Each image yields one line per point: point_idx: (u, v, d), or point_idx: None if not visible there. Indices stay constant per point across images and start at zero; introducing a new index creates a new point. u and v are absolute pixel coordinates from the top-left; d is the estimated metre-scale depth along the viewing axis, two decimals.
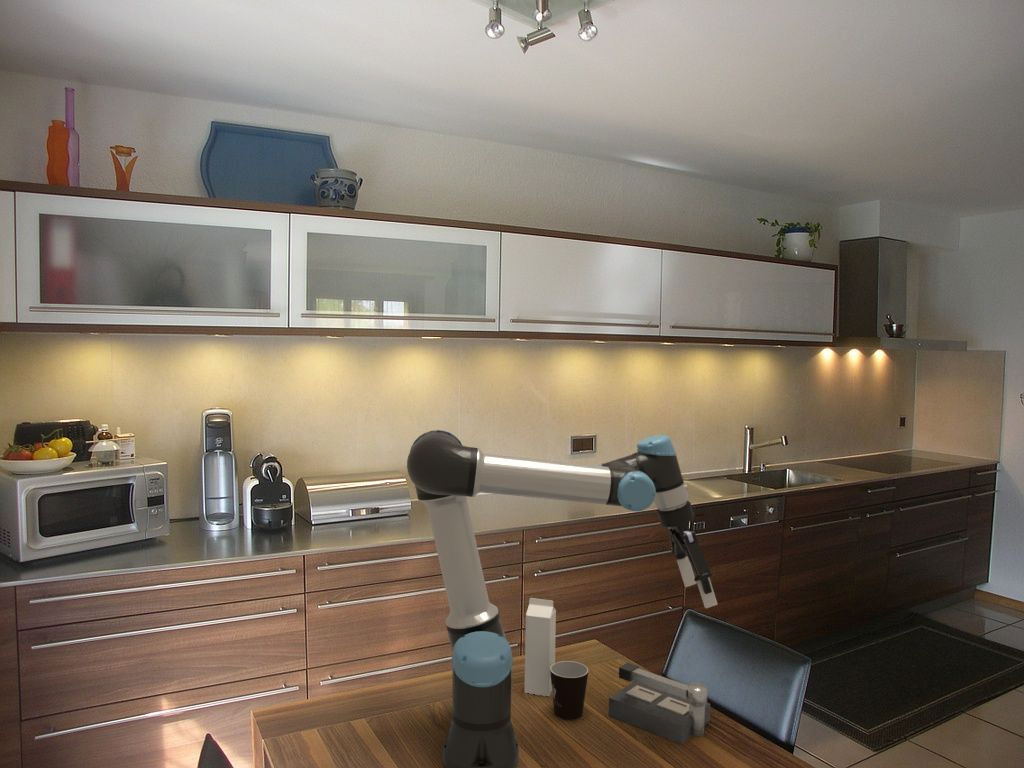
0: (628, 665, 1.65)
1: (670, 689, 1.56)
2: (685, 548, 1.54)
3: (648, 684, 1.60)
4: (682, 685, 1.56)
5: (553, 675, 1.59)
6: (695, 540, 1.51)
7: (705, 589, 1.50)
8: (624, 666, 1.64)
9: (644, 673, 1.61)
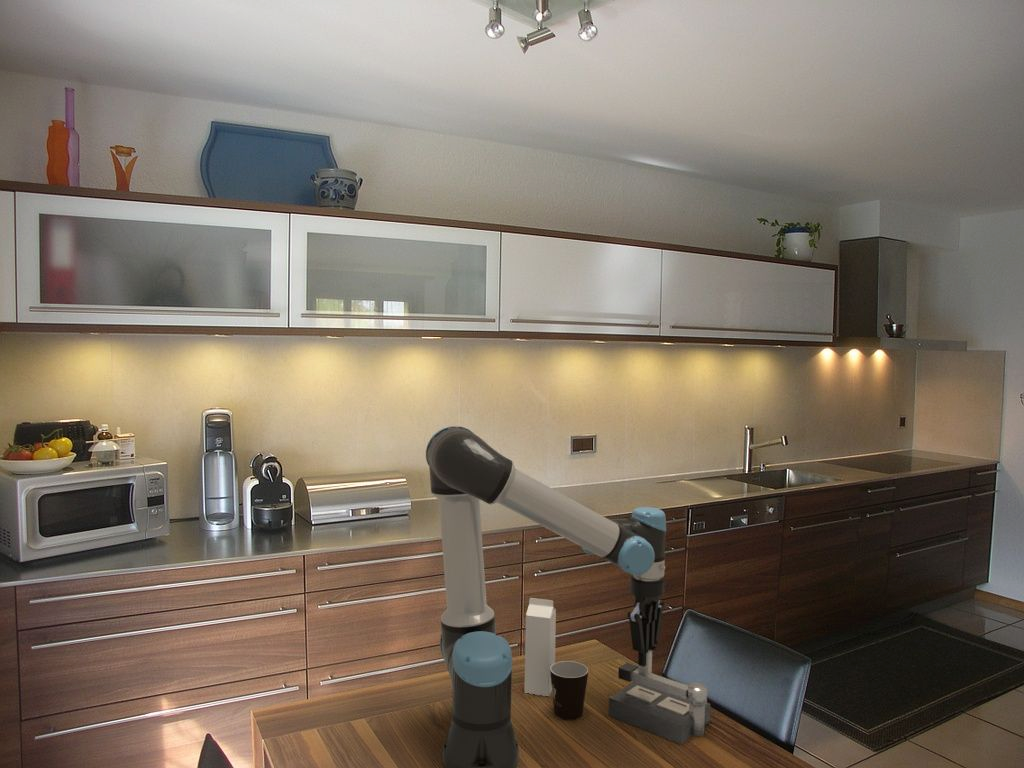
0: (628, 665, 1.65)
1: (670, 689, 1.56)
2: None
3: (648, 684, 1.59)
4: (682, 685, 1.56)
5: (553, 675, 1.59)
6: (637, 622, 1.59)
7: (639, 661, 1.63)
8: (624, 666, 1.64)
9: (644, 674, 1.61)
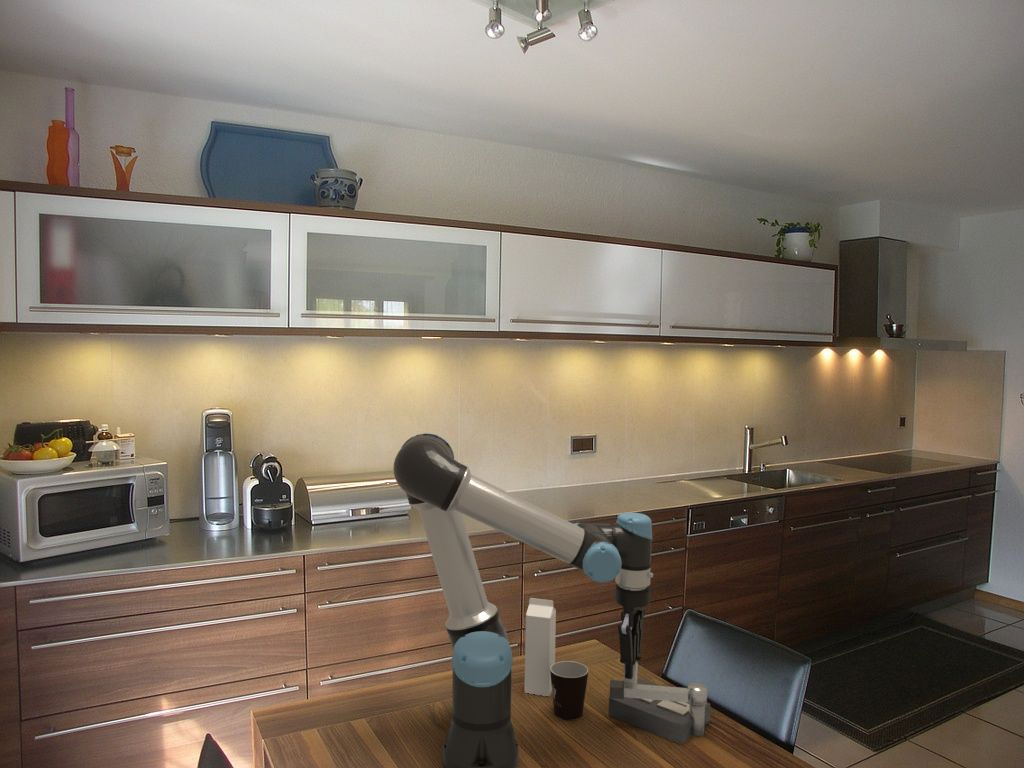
0: (614, 682, 1.56)
1: (670, 696, 1.53)
2: None
3: (644, 697, 1.54)
4: (679, 689, 1.54)
5: (553, 675, 1.59)
6: (628, 634, 1.51)
7: (625, 673, 1.56)
8: (613, 684, 1.55)
9: (636, 687, 1.55)
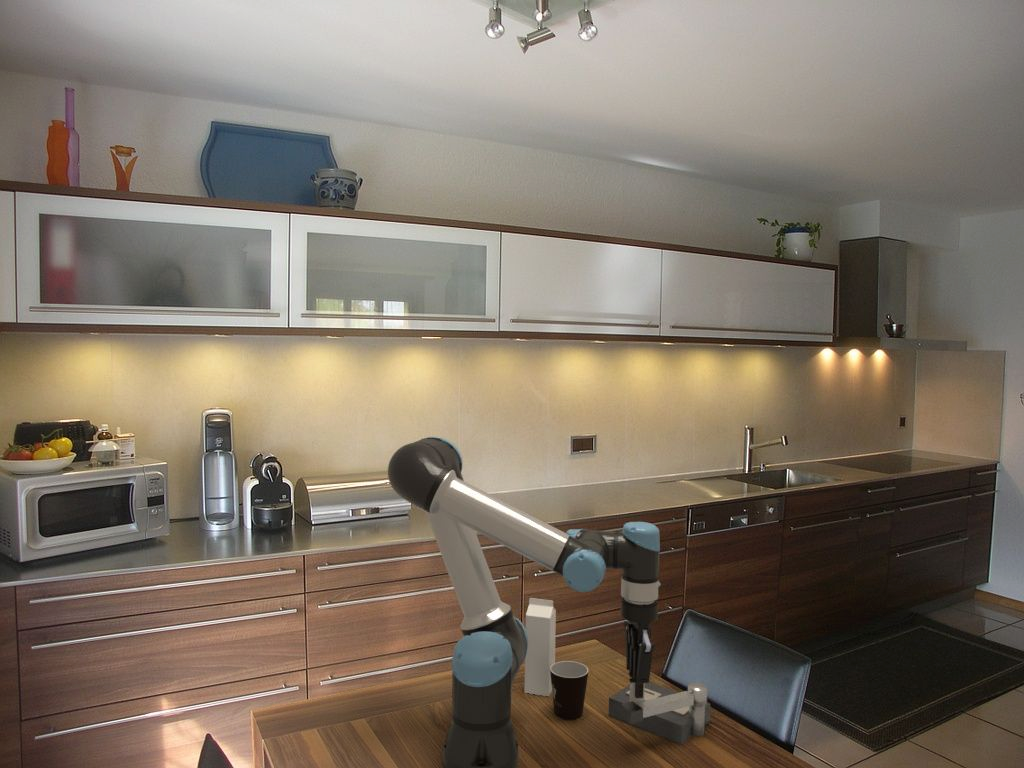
0: (628, 705, 1.46)
1: (679, 703, 1.49)
2: (636, 649, 1.46)
3: (658, 712, 1.47)
4: (682, 694, 1.52)
5: (553, 675, 1.59)
6: (651, 652, 1.43)
7: (637, 693, 1.47)
8: (629, 708, 1.45)
9: (649, 704, 1.47)
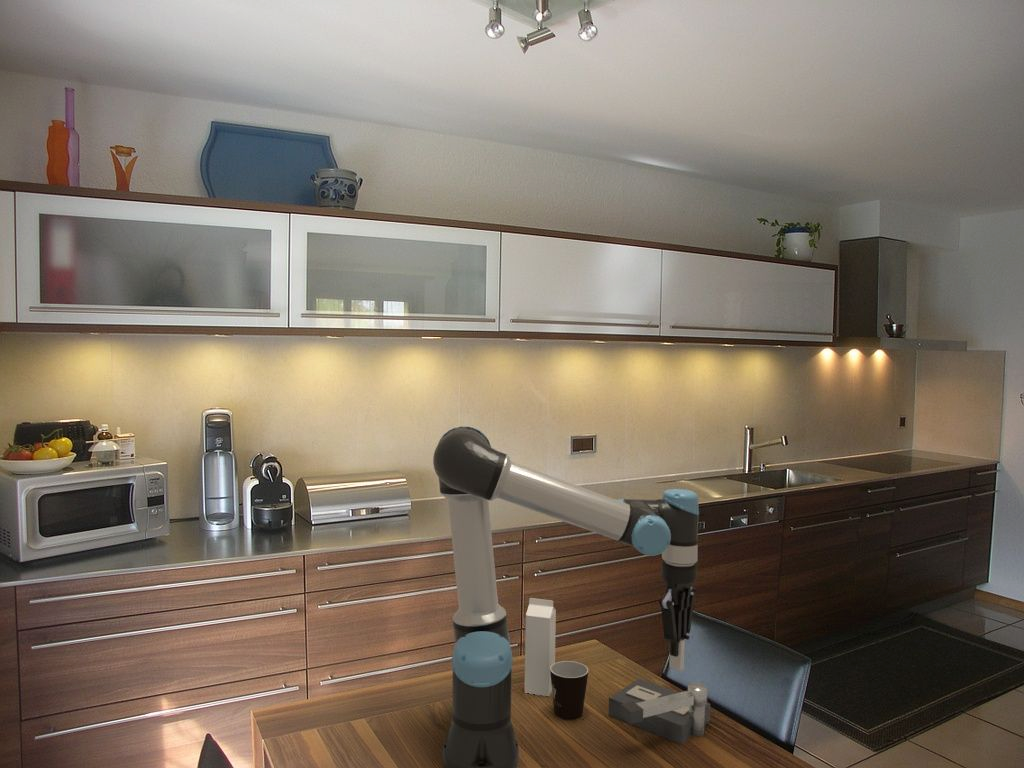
0: (628, 705, 1.46)
1: (679, 703, 1.49)
2: None
3: (658, 712, 1.47)
4: (682, 694, 1.52)
5: (553, 675, 1.59)
6: None
7: None
8: (630, 708, 1.45)
9: (649, 704, 1.47)
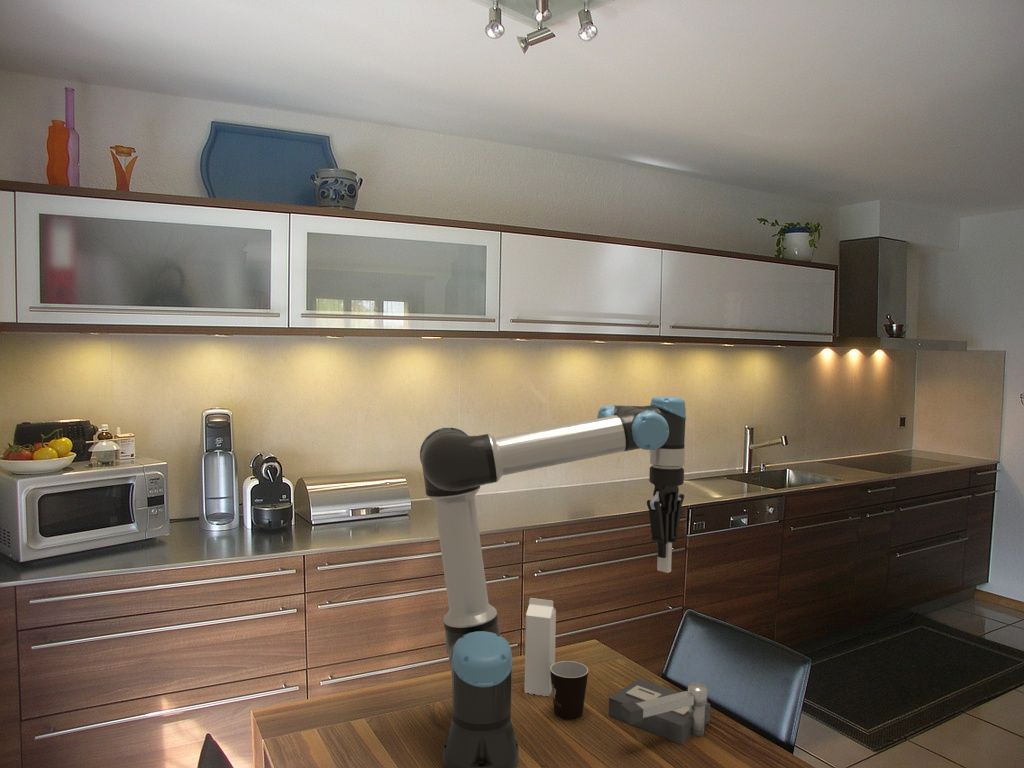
0: (628, 705, 1.46)
1: (679, 703, 1.49)
2: None
3: (658, 712, 1.47)
4: (682, 694, 1.52)
5: (553, 675, 1.59)
6: None
7: None
8: (630, 708, 1.45)
9: (649, 704, 1.47)
